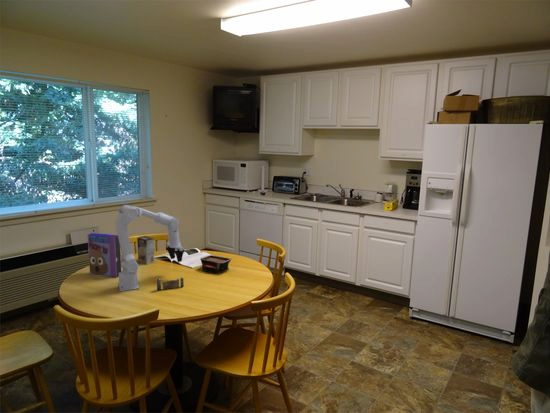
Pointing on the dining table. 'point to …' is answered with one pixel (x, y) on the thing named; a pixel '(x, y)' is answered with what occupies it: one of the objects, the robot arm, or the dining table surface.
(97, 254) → the cereal box
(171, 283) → the brown wooden block
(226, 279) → the dining table surface
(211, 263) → the dark rectangular container
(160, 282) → the gate posts
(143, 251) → the coffee box
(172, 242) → the robot arm
